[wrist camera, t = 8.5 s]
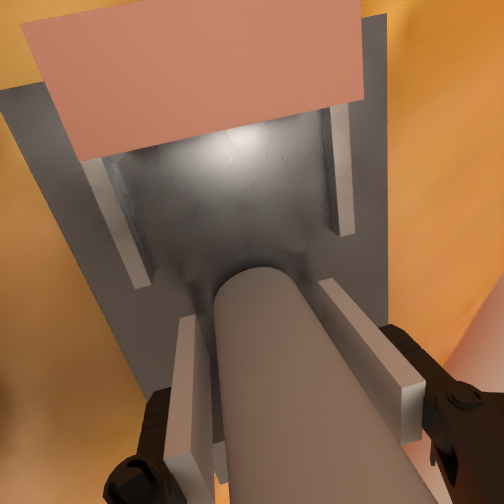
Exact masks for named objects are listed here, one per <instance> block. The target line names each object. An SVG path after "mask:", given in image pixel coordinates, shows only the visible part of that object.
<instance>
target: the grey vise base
mask: <svg viewBox="0 0 504 504" xmlns="http://www.w3.org/2000/svg"><path fill="white" fill-rule="evenodd" d="M361 28H362V57H363V86H364V99H363V100H358V101H354V102H349V103H345V104H340V105H336V106H331V107H327V108H322V109H318V110H313V111H308V112H304V113H299V114H295V115H290V116H286V117H281V118H277V119H272V120H268V121H263V122H259V123H254V124H250V125H245V126H240V127H236V128H231V129H227V130H222V131H218V132H213V133H209V134H204V135H200V136H195V137H191V138H186V139H182V140H177V141H172V142H168V143H163V144H159V145H154V146H150V147H145V148H141V149H136V150H132V151H127V152H123V153H118V154H114V155H109V156H105V157H100V158H95V159H91V160H86V161H82V162H79V160H78V158H77V156H76V153H75V151H74V149H73V147H72V144H71V142H70V140H69V137H68V135H67V133H66V130H65V128H64V126H63V123H62V121H61V119H60V116H59V114H58V112H57V110H56V107H55V105H54V103H53V100H52V98H51V96H50V93H49V91H48V89H47V86H46V84H45V82H39V83H34V84H29V85H24V86H19V87H14V88H9V89H4V90H0V111H1V113H2V115H3V117H4V119H5V121H6V123H7V125H8V127H9V129H10V131H11V133H12V135H13V137H14V139H15V141H16V142H17V144H18V146H19V148H20V150H21V152H22V154H23V156H24V158H25V160H26V162H27V164H28V166H29V168H30V170H31V172H32V174H33V176H34V178H35V180H36V182H37V184H38V186H39V188H40V190H41V192H42V194H43V196H44V198H45V200H46V202H47V204H48V206H49V208H50V210H51V212H52V214H53V216H54V218H55V220H56V222H57V224H58V225H59V227H60V229H61V231H62V233H63V235H64V237H65V239H66V241H67V243H68V245H69V247H70V249H71V251H72V253H73V255H74V257H75V259H76V261H77V263H78V265H79V267H80V269H81V271H82V273H83V275H84V277H85V279H86V281H87V283H88V285H89V287H90V289H91V291H92V293H93V295H94V297H95V299H96V301H97V303H98V305H99V306H100V308H101V310H102V312H103V314H104V316H105V318H106V320H107V322H108V324H109V326H110V328H111V330H112V332H113V334H114V336H115V338H116V340H117V342H118V344H119V346H120V348H121V350H122V352H123V354H124V356H125V358H126V360H127V362H128V364H129V366H130V368H131V370H132V372H133V374H134V376H135V378H136V380H137V382H138V384H139V386H140V387H141V389H142V391H143V393H144V395H145V397H146V399H147V401H149V399H150V397H151V396H152V394H153V392H154V391H157V390H161V389H164V388H168V387H171V386H172V380H173V372H174V363H175V355H176V346H177V338H178V329H179V320H180V318H182V317H186V316H190V315H193V314H195V315H196V318H197V321H198V324H199V327H200V330H201V332H202V335H203V338H204V341H205V344H206V347H207V350H208V353H209V356H210V381H211V408H212V435H213V462H214V470H215V473H216V475H217V477H218V480H219V482H220V484H223V483H227V482H228V472H227V461H226V450H225V438H224V427H223V416H222V405H221V393H220V382H219V371H218V360H217V348H216V337H215V326H214V315H213V306H214V299H215V297H216V295H217V293H218V291H219V289H220V288H221V287H222V286H223V285H224V284H225V282H226V281H227V280H229V279H230V278H232V277H233V276H235V275H236V274H238V273H240V272H243V271H245V270H248V269H251V268H257V267H271V268H274V269H277V270H280V271H282V272H284V273H285V274H286V275H288V276H289V277H290V278H291V279H292V280H293V282H294V283H295V284H296V286H297V287H298V289H299V290H300V292H301V294H302V295H303V297H304V298H305V300H306V301H307V303H308V304H309V306H310V307H311V309H312V310H313V312H314V314H315V315H316V317H317V318H318V320H319V321H320V323H321V324H322V326H323V327H324V325H323V320H322V311H321V303H320V295H319V287H318V281H322V280H325V279H329V278H333V279H334V280H335V281H336V282H337V284H338V285H339V286H340V287H341V288H342V289H343V290H344V291H345V292H346V293H347V295H348V296H349V297H350V298H351V299H352V300H353V301H354V302H355V303H356V304H357V306H358V307H359V308H360V309H361V310H362V311H363V312H364V313H365V314H366V315H367V317H368V318H369V319H370V320H371V321H372V322H373V323H374V324H375V325H376V326H377V328H378V327H382V326H385V325H388V188H387V13H385V14H380V15H375V16H370V17H365V18H361ZM324 329H325V330H326V328H325V327H324ZM326 332H327V334H328V335H329V333H328V331H327V330H326ZM329 337H330V338H331V336H330V335H329ZM331 340H332V341H333V339H332V338H331ZM333 343H334V344H335V342H334V341H333ZM335 346H336V344H335ZM336 347H337V346H336ZM337 349H338V347H337ZM338 350H339V349H338ZM339 352H340V350H339ZM340 354H341V355H342V353H341V352H340ZM342 357H343V355H342ZM343 358H344V357H343ZM344 360H345V358H344ZM345 361H346V360H345ZM346 363H347V361H346ZM347 364H348V363H347ZM348 366H349V364H348ZM349 367H350V366H349ZM350 369H351V368H350ZM351 370H352V369H351ZM352 372H353V371H352ZM353 373H354V372H353ZM354 375H355V374H354ZM355 376H356V375H355ZM356 378H357V377H356ZM357 380H358V379H357ZM358 381H359V380H358ZM359 383H360V382H359ZM360 384H361V383H360ZM361 386H362V385H361ZM362 387H363V386H362ZM363 389H364V388H363ZM365 392H366V391H365ZM367 395H368V394H367ZM369 398H370V397H369ZM371 401H372V400H371Z"/></svg>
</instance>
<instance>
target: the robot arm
mask: <svg viewBox="0 0 504 504" xmlns="http://www.w3.org/2000/svg"><path fill="white" fill-rule="evenodd" d="M318 287H319V295H320V303H321V311H322V320H323V325H324V327H325V328H326V330H327V331H328V333H329V335H330V336H331V338H332V339H333V341H334V342H335V344H336V346H337V347H338V349H339V350H340V352H341V353H342V355H343V357H344V358H345V360H346V361H347V363H348V364H349V366H350V368H351V369H352V371H353V372H354V374H355V375H356V377H357V379H358V380H359V382H360V383H361V385H362V386H363V388H364V390H365V391H366V393H367V394H368V396H369V397H370V399H371V400H372V402H373V404H374V405H375V407H376V408H377V410H378V411H379V413H380V415H381V416H382V418H383V419H384V421H385V422H386V424H387V426H388V427H389V429H390V430H391V432H392V433H393V435H394V436H395V438H396V439H397V441H398V442H399V444H400V445H401V446H402V445H405V444H408V443H411V442H415V441H418V440H420V439H422V428H423V429H424V431H425V432H426V433H427V434H428V436H429V437H430V439H431V440H432V441H431V451H430V462H431V466H435V461H436V462H437V464H438V467H439V469H440V472H441V474H442V477H443V480H444V482H445V485H446V487H447V490H448V492H449V495H450V497H451V500H452V503H453V504H504V393H496V392H495V393H494V392H481V391H480V390H478V389H477V388H475V387H474V386H472V385H470V384H467V383H465V382H462V381H456V380H455V379H454V378H453V377H451V376H450V375H449V374H448V373H447V372H446V371H445V370H444V369H443V368H442V367H441V366H440V365H439V364H438V363H437V362H436V361H435V360H434V359H433V358H432V357H431V356H430V355H429V354H428V353H427V352H426V351H425V350H424V349H422V348H421V346H420V345H418V344H417V343H416V342H415V341H414V340H413V339H412V338H411V337H410V336H409V335H408V334H407V333H406V332H405V331H404V330H402V329H400V328H398V327H396V326H394V325H392V324H389V325H385V326H382V327H378V328H377V326H376V325H375V324H374V323H373V322H372V321H371V320H370V319H369V318H368V317H367V315H366V314H365V313H364V312H363V311H362V310H361V309H360V308H359V307H358V306H357V304H356V303H355V302H354V301H353V300H352V299H351V298H350V297H349V296H348V295H347V293H346V292H345V291H344V290H343V289H342V288H341V287H340V286H339V285H338V284H337V282H336V281H335V280H334V279H333V278H329V279H325V280H322V281H318ZM103 498H104V499H105V501H106V502H107V503H108V504H215V489H214V462H213V435H212V408H211V381H210V356H209V353H208V350H207V347H206V344H205V341H204V338H203V335H202V332H201V330H200V327H199V324H198V321H197V318H196V315H195V314H193V315H190V316H186V317H182V318H180V320H179V329H178V338H177V346H176V355H175V363H174V372H173V380H172V386H171V387H168V388H164V389H161V390H157V391H154V392H153V394H152V396H151V397H150V399H149V401H148V403H147V404H146V409H145V414H144V420H143V424H142V431H141V434H140V439H139V443H138V448H137V453H136V455H133V456H131V457H128V458H126V459H125V460H124V461H122V462H121V463H120V464H119V465H117V467H116V468H115V469H114V470H113V472H112V473H111V474H110V476H109V478H108V480H107V482H106V484H105V486H104V491H103Z"/></svg>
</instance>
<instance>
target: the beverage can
mask: <svg viewBox="0 0 504 504" xmlns="http://www.w3.org/2000/svg"><path fill="white" fill-rule="evenodd" d="M213 315H214V326H215V337H216V348H217V360H218V371H219V382H220V393H221V405H222V416H223V427H224V438H225V450H226V461H227V472H228V484H229V495H230V504H438V502H437V501H436V499H435V498H434V496H433V495H432V493H431V492H430V490H429V489H428V487H427V485H426V484H425V482H424V481H423V479H422V478H421V476H420V475H419V473H418V472H417V470H416V469H415V467H414V465H413V464H412V462H411V461H410V459H409V458H408V456H407V455H406V453H405V452H404V450H403V449H402V447H401V445H400V444H399V442H398V441H397V439H396V438H395V436H394V435H393V433H392V432H391V430H390V429H389V427H388V426H387V424H386V422H385V421H384V419H383V418H382V416H381V415H380V413H379V412H378V410H377V409H376V407H375V406H374V404H373V403H372V401H371V399H370V398H369V396H368V395H367V393H366V392H365V390H364V389H363V387H362V386H361V384H360V383H359V381H358V380H357V378H356V376H355V375H354V373H353V372H352V370H351V369H350V367H349V366H348V364H347V363H346V361H345V360H344V358H343V357H342V355H341V354H340V352H339V350H338V349H337V347H336V346H335V344H334V343H333V341H332V340H331V338H330V337H329V335H328V334H327V332H326V330H325V329H324V327H323V326H322V324H321V323H320V321H319V320H318V318H317V317H316V315H315V314H314V312H313V310H312V309H311V307H310V306H309V304H308V303H307V301H306V300H305V298H304V297H303V295H302V294H301V292H300V290H299V289H298V287H297V286H296V284H295V283H294V282H293V280H292V279H291V278H290V277H289V276H288V275H286V274H285V273H284V272H282V271H280V270H277V269H274V268H271V267H257V268H251V269H248V270H245V271H243V272H240V273H238V274H236V275H235V276H233V277H232V278H230V279H229V280H227V281H226V282H225V284H224V285H223V286H222V287H221V288H220V289H219V291H218V293H217V295H216V297H215V299H214V306H213Z"/></svg>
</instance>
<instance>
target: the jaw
mask: <svg viewBox="0 0 504 504" xmlns="http://www.w3.org/2000/svg"><path fill="white" fill-rule="evenodd" d="M20 26H21V29H22V31H23V33H24V36H25V38H26V40H27V43H28V45H29V47H30V49H31V52H32V54H33V56H34V59H35V61H36V63H37V66H38V68H39V70H40V73H41V75H42V77H43V80H44V82H45V84H46V86H47V89H48V91H49V93H50V96H51V98H52V100H53V103H54V105H55V107H56V110H57V112H58V114H59V116H60V119H61V121H62V123H63V126H64V128H65V130H66V133H67V135H68V137H69V140H70V142H71V144H72V147H73V149H74V151H75V153H76V156H77V158H78V160H79V162H82V161H86V160H91V159H95V158H100V157H105V156H109V155H114V154H118V153H123V152H127V151H132V150H136V149H141V148H145V147H150V146H154V145H159V144H163V143H168V142H172V141H177V140H182V139H186V138H191V137H195V136H200V135H204V134H209V133H213V132H218V131H222V130H227V129H231V128H236V127H240V126H245V125H250V124H254V123H259V122H263V121H268V120H272V119H277V118H281V117H286V116H290V115H295V114H299V113H304V112H308V111H313V110H318V109H322V108H327V107H331V106H336V105H340V104H345V103H349V102H354V101H358V100H363V99H364V86H363V57H362V28H361V0H146V1H141V2H135V3H130V4H124V5H119V6H114V7H108V8H103V9H97V10H92V11H87V12H81V13H76V14H70V15H65V16H59V17H54V18H49V19H43V20H38V21H32V22H27V23H22V24H20Z"/></svg>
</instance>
